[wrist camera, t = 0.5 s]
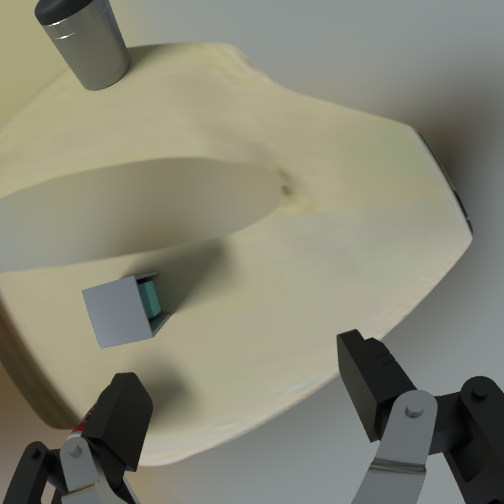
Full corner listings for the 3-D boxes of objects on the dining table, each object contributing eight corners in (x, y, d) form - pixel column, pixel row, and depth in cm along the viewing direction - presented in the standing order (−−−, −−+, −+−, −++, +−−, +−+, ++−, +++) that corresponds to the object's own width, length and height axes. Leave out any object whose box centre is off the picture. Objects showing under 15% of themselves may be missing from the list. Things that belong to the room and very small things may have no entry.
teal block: (134, 317, 33) (124, 323, 29) (125, 287, 33) (114, 291, 29) (161, 310, 33) (154, 316, 29) (152, 280, 33) (144, 283, 29)
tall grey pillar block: (129, 326, 32) (100, 348, 22) (116, 282, 32) (81, 290, 22) (170, 316, 33) (152, 337, 23) (157, 270, 33) (133, 275, 23)
